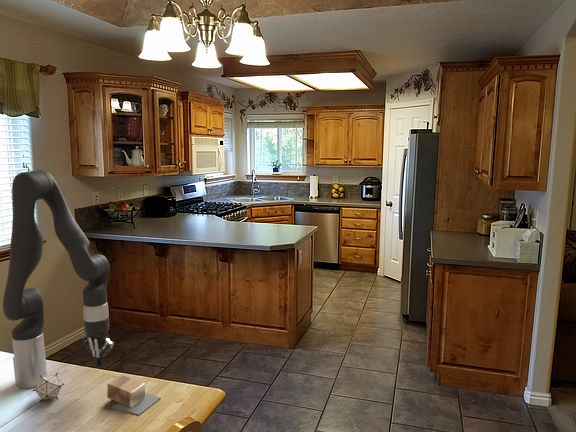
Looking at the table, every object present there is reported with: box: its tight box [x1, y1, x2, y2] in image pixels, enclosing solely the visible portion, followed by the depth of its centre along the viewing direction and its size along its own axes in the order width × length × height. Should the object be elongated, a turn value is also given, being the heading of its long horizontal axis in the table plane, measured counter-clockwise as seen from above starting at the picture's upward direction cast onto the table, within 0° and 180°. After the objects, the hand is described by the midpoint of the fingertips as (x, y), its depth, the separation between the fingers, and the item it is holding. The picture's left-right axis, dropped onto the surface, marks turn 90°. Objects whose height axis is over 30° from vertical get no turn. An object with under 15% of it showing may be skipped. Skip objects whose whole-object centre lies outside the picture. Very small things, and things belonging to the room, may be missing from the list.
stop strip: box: [105, 399, 117, 410], centre depth 145 cm, size 2×12×1 cm, turn 157°
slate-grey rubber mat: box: [111, 393, 162, 416], centre depth 142 cm, size 11×10×1 cm
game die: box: [32, 372, 65, 403], centre depth 145 cm, size 9×8×10 cm
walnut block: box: [106, 374, 146, 407], centre depth 143 cm, size 5×6×10 cm
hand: (99, 366), depth 147 cm, fingers closed
